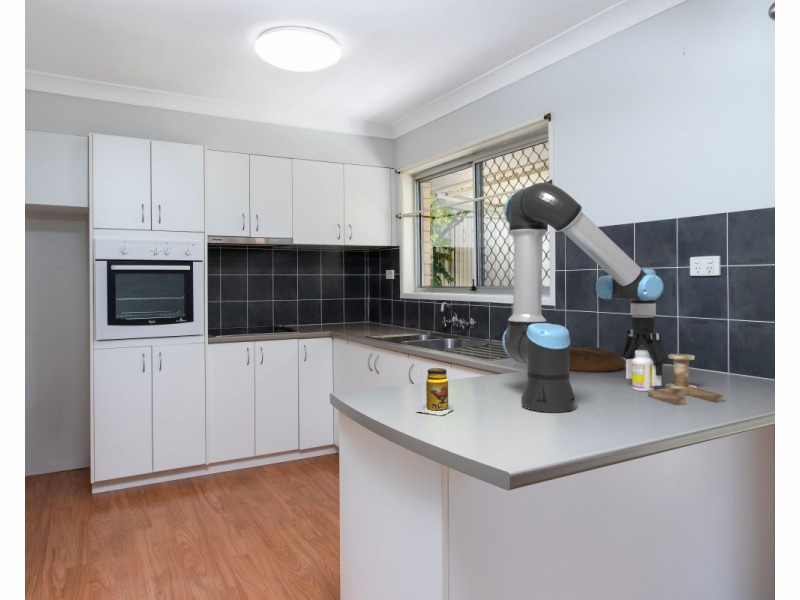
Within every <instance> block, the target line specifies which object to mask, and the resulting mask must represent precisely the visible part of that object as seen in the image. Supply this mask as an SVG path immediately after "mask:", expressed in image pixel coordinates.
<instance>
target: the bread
mask: <svg viewBox="0 0 800 600" xmlns="http://www.w3.org/2000/svg"><path fill="white" fill-rule="evenodd" d="M624 367H626V359H625V358H624V356H621V354H620V353H618V352H616V351H614V350H611V349H608V348H603V347H597V346H574V347H570V360H569V372H570V371H571V372H581V373H582V372H583V373H603V372H604V373H606V372H609V373H610V372H616V371H620V370H621V369H624Z"/></svg>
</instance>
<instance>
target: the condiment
mask: <svg viewBox="0 0 800 600" xmlns="http://www.w3.org/2000/svg"><path fill="white" fill-rule="evenodd" d="M447 373H448V371H447V369H446V368H443V367H442V368H440V367H435V368H433V367H432V368H429V369H427V378H426V381H425V382H426V383H425V385H426V388H425V389H426V390H425V391H426V394H425V395H426V399H425V400H426V403H425V404H426V407H427V409H428V410H431V411H443V410H447V409H449V379H448V378H447V377H448V376H447Z"/></svg>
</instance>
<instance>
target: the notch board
mask: <svg viewBox="0 0 800 600" xmlns="http://www.w3.org/2000/svg"><path fill="white" fill-rule="evenodd" d="M684 396H685V397H684ZM686 396H690V397H694V398H698V399H700V400H705V401H708V402H713V403H720V402H721V403H722V402H724V394H722V393H717V392H713V391H708V390H707V389H706V390H705V389H701V388H698V387H697V388H694V387H686V388H671V389H666V388H659V389H655V388H654V390H648V391H647V397H650V398H651V399H652V398H653V399H656V400H659V401H662V402H666V403H669V404H671V405H675V406H682V405H686Z"/></svg>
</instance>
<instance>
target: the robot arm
mask: <svg viewBox="0 0 800 600" xmlns="http://www.w3.org/2000/svg"><path fill="white" fill-rule="evenodd" d="M503 214H504V218H505V220H506V222H507V223H508V224H509V226H508V228H509V230H508V231H509V233H510V234H511V236H513V247H514V248H513V293H512V296H513V299H512V301H513V302H512V303H513V306H512V307H513V308H512V315H510V317H508V319H507V328H506V330H505V331H504V332H503V334H502V341H501V343H502V344H501V345H502V348H503V350H504V352H505V353H506V355H508V357H510V358H511V359H513V360H514V361H516V362H518V363H520V364H521V363H522V364H526V365H527V368H526V369H527V370H526V371H527V372H526V373H527V376H526V381H525V382H526V383H525V385H524V389H523V392H522V395H521V396H520V397H521V399H520V405H521V404H522V406H524V407H526V408H529V409H532V410H531V411H534V410H536V411H535V412H540V411H544V412H543V413H568V412H572V411H574V410H576V409H577V401H576V396H575V393H574V390H573V388H572V384H571V380H570V371H569V360H570V348H571V347H570V346H571V339H570V331H569V330H568V328H567V327H565V326H563V325H560V324H552V323H547V319H546V318H545V317H544V316H543V314H542V301H543V299H542V295H543V291H542V289H543V288H542V287H543V238H544V236H545V235H546V234H547V233H548V232H549V231H548V230H549V226H550V227H552V228H553V230H555V231H556V232H562V233H564V235H565V236H566V237H568V238H569V239H570V240H571V241H572V242H573V243H574V244H576V246H578V247H579V248H580V249H581V250H582V251H583V252H584V253H585V254H586V255H587V256H588V257H590V259H592V260H593V261H594V262H595V263H596V264H597V265H598V266H599V267H600V268H602V270H604V271H605V273H607V274H608V275H602V276H599V278H598V279H597V280H596V283H595V291H596V294H597V296H598V298H600V299H601V300H602V299H603V300H630V315H631V317H630V328H631V329H626V336H625V340H624V343H623V346H622V350H621V353H620V355H621V356H622V357H623V358H624V360H625V368H626V369H625V370H626V371H625V379H626V380H627V379H628V380H629V379H631V380H632V360H633V359H634V358H635V356H636V354H635V350H639V348H640V346H644V348H646V350H648V352H649V354H650V358H651V359H652V360H653V362H654V364H653V365H652V386H654V387H658V386H662V375H663V365H667V364H668V359H667V355H666V352H665V351H666V350H665V349H664V345H663V341H662V334H661V333H660V332H658V333H657V332H655V333H654V330H655V329H657V318H656V317H655V316H656V315H657V299H658V298H660V297H661V296H662V293H663V291H664V282H663V280H662V279H661V277H660V276H658V275H657V274H656V273H657V272H656V270H655V269H653V268H646V269H645V268H641V267H640V266H639V265H638V264H637V263H636V262H635V261H634V260H633V259H632V258H630V257H629V255H628V254H626V253H625V251H623V250H622V249H621V247H619V246H618V245H617V244H616V243H615V242H614V241H613V240H612V239H611V238H610V237H608V236H607V234H606V233H604V231H602V230H601V229H600V227H598V226H597V225H596V224H595V223H594V222H593V221H592V220H591V219H590V218H589V217H588V216H587V215H586V214H585V213H584V212H583V207H582V206H581V204H580V203H579V202H578V201H576V200H575V198H573V197H572V196H571V195H570V194H568V192H566V191H565V190H563V189H562V188H560V187H559V186H557V185H555V184H552V183H549V182H537V183H534V184H532V185H530V186H528V187H525V188H521V189H518V190H517V191H515V192H514V193H512V194H511V195H510V196H509V197H508V198H507V200H506V201H505V204H504V209H503ZM522 406H521V407H522ZM524 407H523V408H524ZM526 408H525V409H526ZM529 409H528V410H529Z"/></svg>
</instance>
